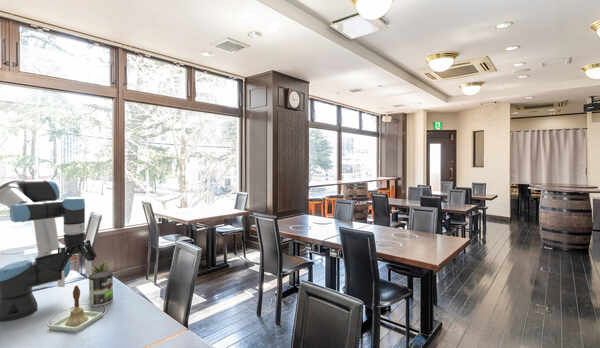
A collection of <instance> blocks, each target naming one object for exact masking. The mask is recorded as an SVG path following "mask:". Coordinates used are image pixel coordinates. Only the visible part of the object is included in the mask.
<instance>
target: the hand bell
mask: <svg viewBox="0 0 600 348" xmlns="http://www.w3.org/2000/svg"><path fill="white" fill-rule="evenodd" d="M80 296H81V289H80V288H79V285H74V287H73V290H72V297H73V301H74V308H72V309H71V310H70V314H69V315H70V317H69V319H68V320H67V321H66V323H65V325H66V326H77V325H80V324H83V323H85V322H86V321H87V320H88V317H87V316H86V315H85V314H84V311H85V310H84V307H80Z"/></svg>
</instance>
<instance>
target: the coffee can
mask: <svg viewBox="0 0 600 348" xmlns="http://www.w3.org/2000/svg"><path fill="white" fill-rule="evenodd" d="M111 271H112V270H106V271H102V272H97V273H95V272H94V273H93V274H92V275H88V277H89V279H88V285H89V287H88V291H89V306H91V307H100V306H105V305H107V304H110V303H112V302H113V301H114V284H113V283H114V282H113V281H114V278H113V277H114V276H113V274H114V271H112V272H111Z"/></svg>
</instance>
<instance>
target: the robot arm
mask: <svg viewBox="0 0 600 348" xmlns="http://www.w3.org/2000/svg"><path fill="white" fill-rule="evenodd" d="M85 202H86V201H85V198H84V197H80V196H72V197H65V198H63V199H62V198H61V199H60V189H59V187H58V184H57V182H56V181H55V180H54V179H45V178H41V179H18V180H17V179H16V180H12V181H8V182H5V183H3V184H2V185H0V204H1V205H3V206H6V207H7V208H8V209H9V217H10V220H11V222H13V223H26V222H32V221H33V225H34V226H33V227H34V233H35V240H36V248H37V255H36V256H35V258H34V262H32V261H31V260H29V259H27V260H26V259H25V260H20V261H15V262H12V263H9V264H6V265H4V266H3V267H2V266H1V268H0V322H8V321H13V320H16V319H21V318H23V317H27V316H29V315H31V314H33V313H34V312H36V311H37V310H38V309H39V308H38V305H39V304H38V302H37V300H36V297H35V296H34V294H33V288H35V287H39V286H42V285H47V284H51V283H55V282H57V286H56V287H58V288H65V287H66V286H65V283H66V281H65V279H66V278H67V277H68V276H69V274H70V272H71V258H72V257H73V256H75V255H77V254H81V256H83V258H85V260H84V266H85V267H84V269H85V270H84V272H85V273H84V275H85V276H89V275H92V272H93V270H92V269H93V265H94V264H93V261H95V260H96V259H95V258H97V254H96V252H95V250H94V248H93V246H92V244H91V243H92V242H91V239H86V233H85V231H86V215H85V214H86V212H85V209H86V204H85ZM57 218H62V219H63V233H64V234H63V243H64V244H65V245H64V246H63V247H60V242H59V235H58V229H57V224H56V222H57V221H56V219H57Z"/></svg>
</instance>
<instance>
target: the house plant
mask: <svg viewBox="0 0 600 348" xmlns="http://www.w3.org/2000/svg"><path fill="white" fill-rule="evenodd" d="M109 264H110V263H108V262H106V260H104V261H103V262H100V264H99V267H97V266H98V265H95V264H93V265H92V267H93V268H92V274H93V273H97V272H102V271H108V269H109V268H110V267H111V266H110V265H109ZM110 271H111V272H113V270H110ZM87 280H89V276H88V277H87Z"/></svg>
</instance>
